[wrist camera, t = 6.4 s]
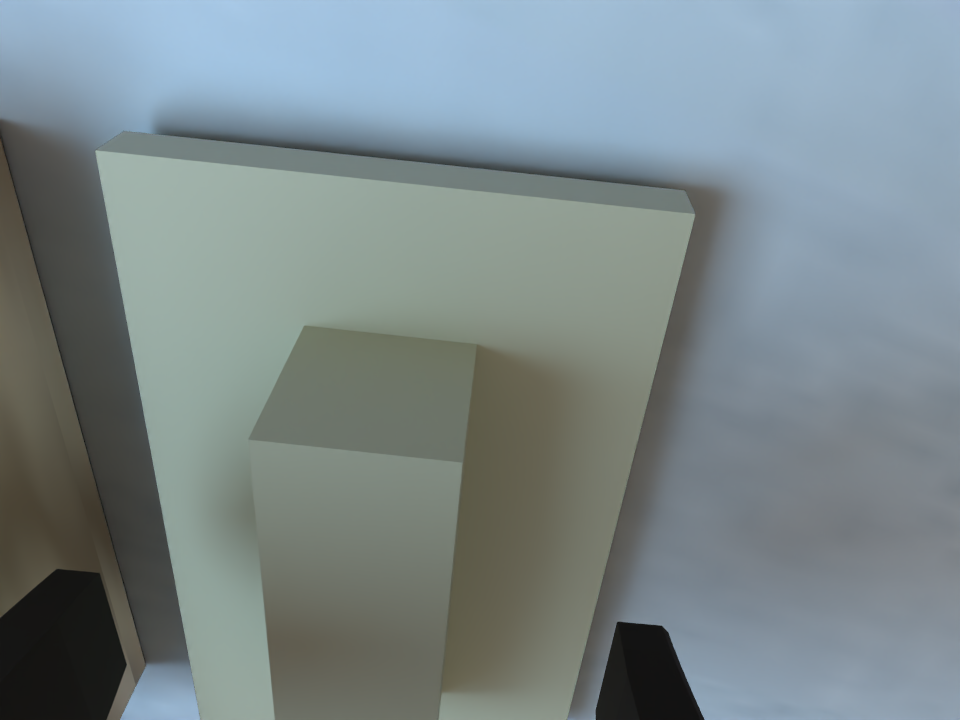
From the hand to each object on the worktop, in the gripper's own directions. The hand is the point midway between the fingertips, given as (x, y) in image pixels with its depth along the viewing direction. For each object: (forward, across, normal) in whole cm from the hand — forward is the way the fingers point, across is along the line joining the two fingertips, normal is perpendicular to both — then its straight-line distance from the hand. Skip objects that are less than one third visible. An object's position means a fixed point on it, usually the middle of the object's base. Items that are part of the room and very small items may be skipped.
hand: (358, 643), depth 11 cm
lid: (+3, 0, 0) cm, 3 cm away
